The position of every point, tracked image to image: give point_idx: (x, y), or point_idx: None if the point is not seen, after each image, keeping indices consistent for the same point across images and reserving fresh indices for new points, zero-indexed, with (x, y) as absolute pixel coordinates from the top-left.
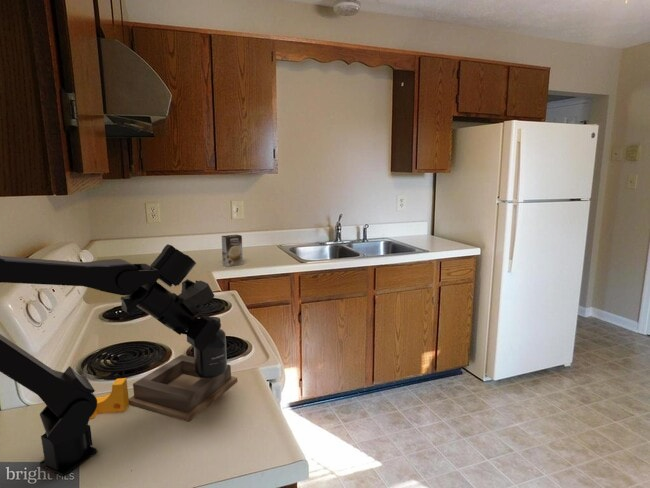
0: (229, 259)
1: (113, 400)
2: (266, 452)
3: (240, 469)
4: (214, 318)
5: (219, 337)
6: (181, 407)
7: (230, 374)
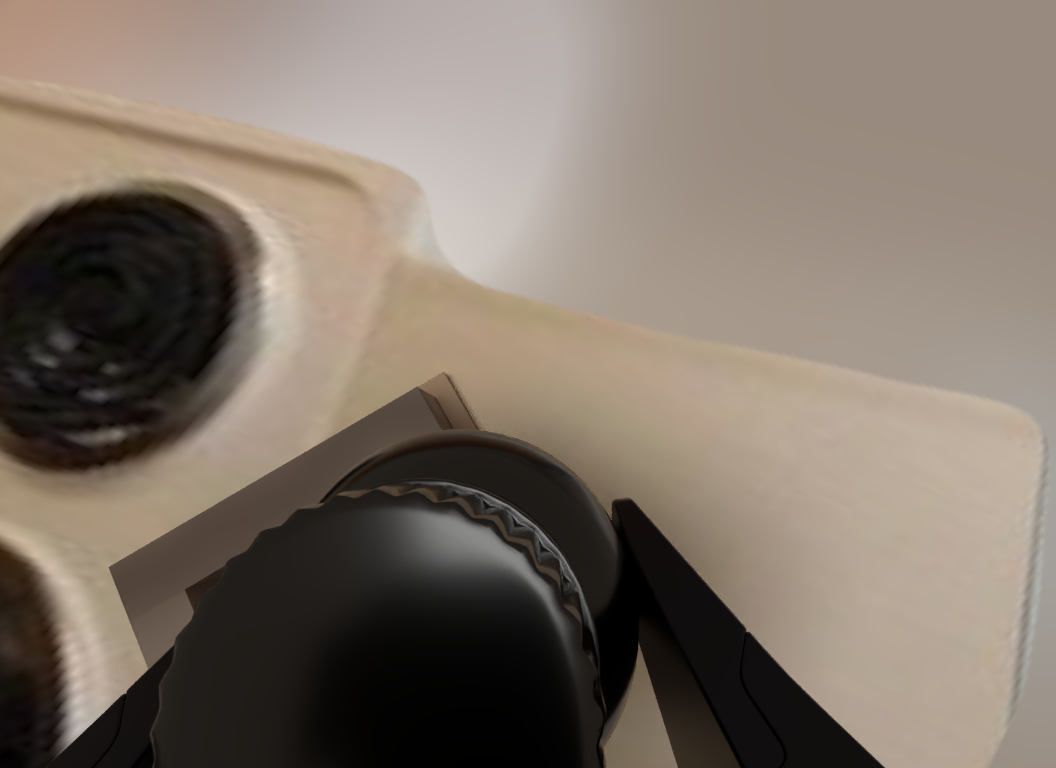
0: None
1: None
2: (954, 492)
3: (994, 609)
4: (361, 588)
5: (727, 609)
6: None
7: (432, 398)
